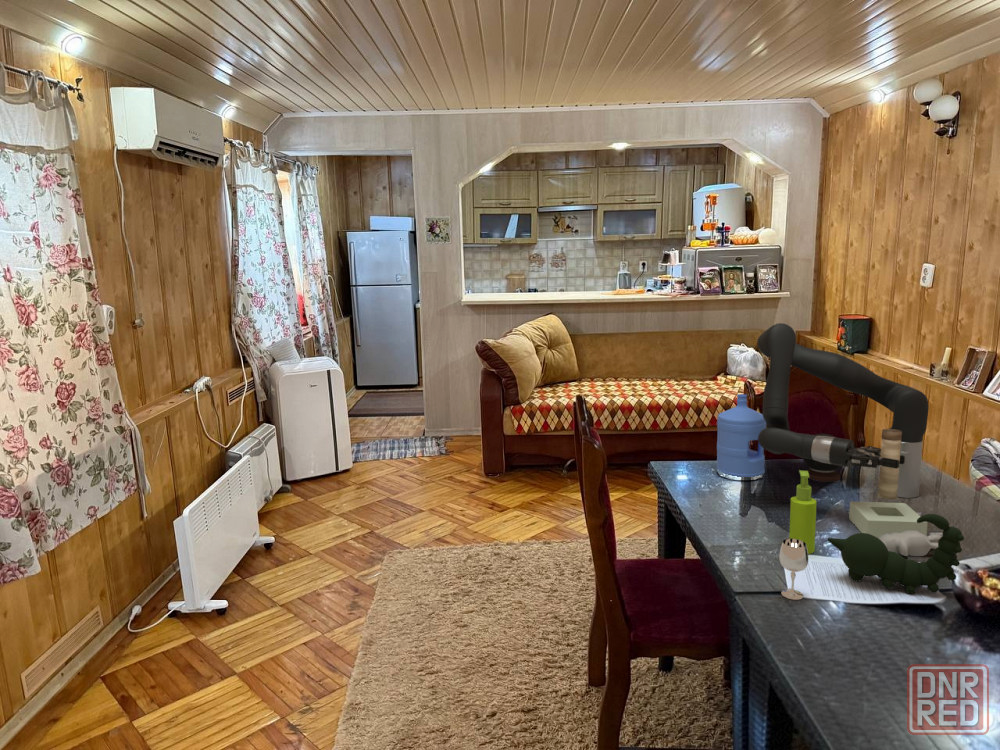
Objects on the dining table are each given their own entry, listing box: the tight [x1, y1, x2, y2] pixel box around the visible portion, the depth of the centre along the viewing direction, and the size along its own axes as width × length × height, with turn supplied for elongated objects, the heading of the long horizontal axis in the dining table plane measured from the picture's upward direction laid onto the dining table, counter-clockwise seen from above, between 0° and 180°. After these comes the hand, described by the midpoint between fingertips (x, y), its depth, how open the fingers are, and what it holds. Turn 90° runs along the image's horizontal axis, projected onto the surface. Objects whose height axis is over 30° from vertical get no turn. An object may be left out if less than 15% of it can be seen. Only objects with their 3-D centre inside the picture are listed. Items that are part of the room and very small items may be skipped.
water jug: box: [715, 393, 767, 477], centre depth 223 cm, size 16×16×28 cm
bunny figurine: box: [879, 530, 943, 557], centre depth 162 cm, size 10×5×15 cm
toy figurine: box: [826, 513, 965, 595], centre depth 145 cm, size 9×19×25 cm
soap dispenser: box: [788, 469, 818, 555], centre depth 165 cm, size 6×7×20 cm
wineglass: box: [778, 538, 809, 601], centre depth 143 cm, size 6×6×12 cm
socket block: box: [848, 501, 929, 539], centre depth 176 cm, size 14×14×5 cm
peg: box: [877, 428, 902, 500], centre depth 173 cm, size 4×4×18 cm
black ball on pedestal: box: [802, 433, 842, 481], centre depth 219 cm, size 13×13×15 cm
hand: (901, 462), depth 171 cm, fingers closed on peg, 4 cm apart
